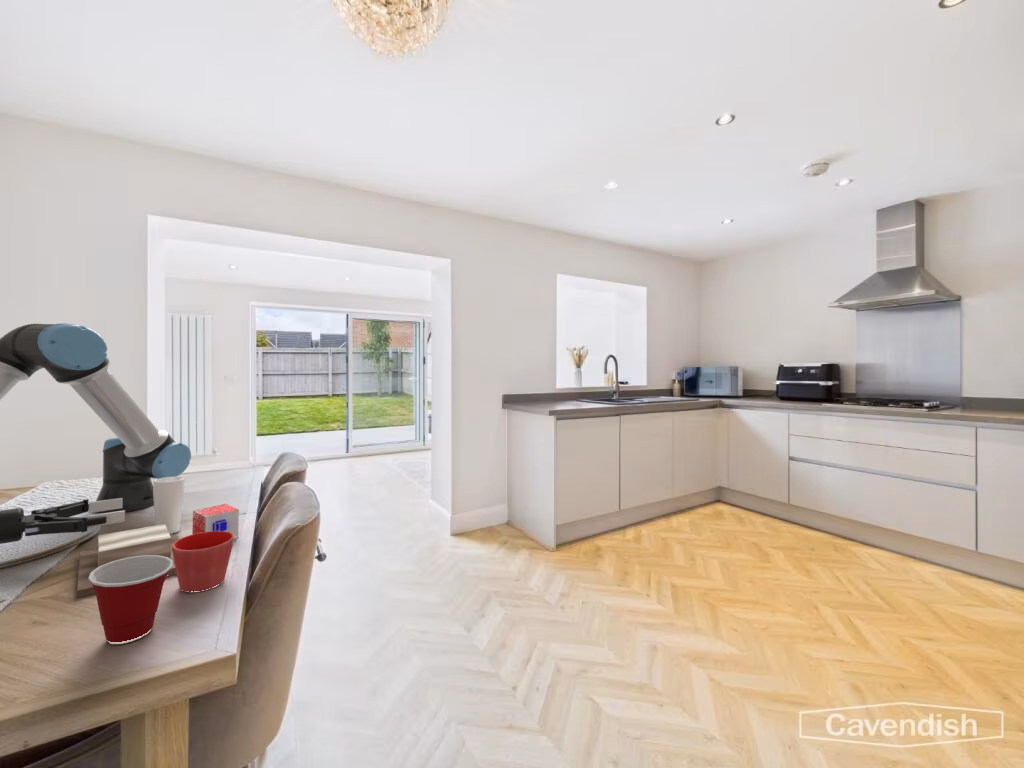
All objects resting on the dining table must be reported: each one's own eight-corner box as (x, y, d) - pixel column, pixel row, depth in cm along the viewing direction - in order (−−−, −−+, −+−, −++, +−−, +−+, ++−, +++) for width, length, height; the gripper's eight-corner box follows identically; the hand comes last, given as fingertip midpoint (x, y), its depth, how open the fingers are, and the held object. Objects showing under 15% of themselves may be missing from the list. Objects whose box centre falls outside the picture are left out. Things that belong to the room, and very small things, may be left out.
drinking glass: (189, 529, 119) (191, 477, 119) (167, 538, 112) (169, 483, 112) (168, 527, 120) (169, 475, 119) (145, 536, 113) (146, 481, 113)
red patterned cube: (225, 531, 119) (225, 503, 119) (238, 537, 115) (239, 509, 114) (191, 539, 112) (192, 510, 112) (204, 547, 108) (205, 516, 108)
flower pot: (244, 577, 93) (246, 534, 93) (193, 602, 82) (194, 553, 82) (211, 568, 96) (212, 527, 96) (158, 591, 86) (159, 544, 86)
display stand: (79, 557, 99) (80, 531, 99) (176, 539, 112) (176, 515, 112) (76, 598, 82) (77, 565, 82) (190, 570, 95) (191, 542, 95)
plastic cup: (139, 655, 67) (140, 581, 66) (66, 656, 66) (68, 582, 66) (186, 616, 77) (188, 553, 77) (125, 617, 77) (126, 552, 76)
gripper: (4, 528, 103) (121, 511, 118) (-15, 562, 85) (125, 537, 100) (4, 498, 103) (121, 485, 118) (-15, 526, 85) (126, 506, 100)
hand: (123, 509), depth 109 cm, fingers open, 13 cm apart
